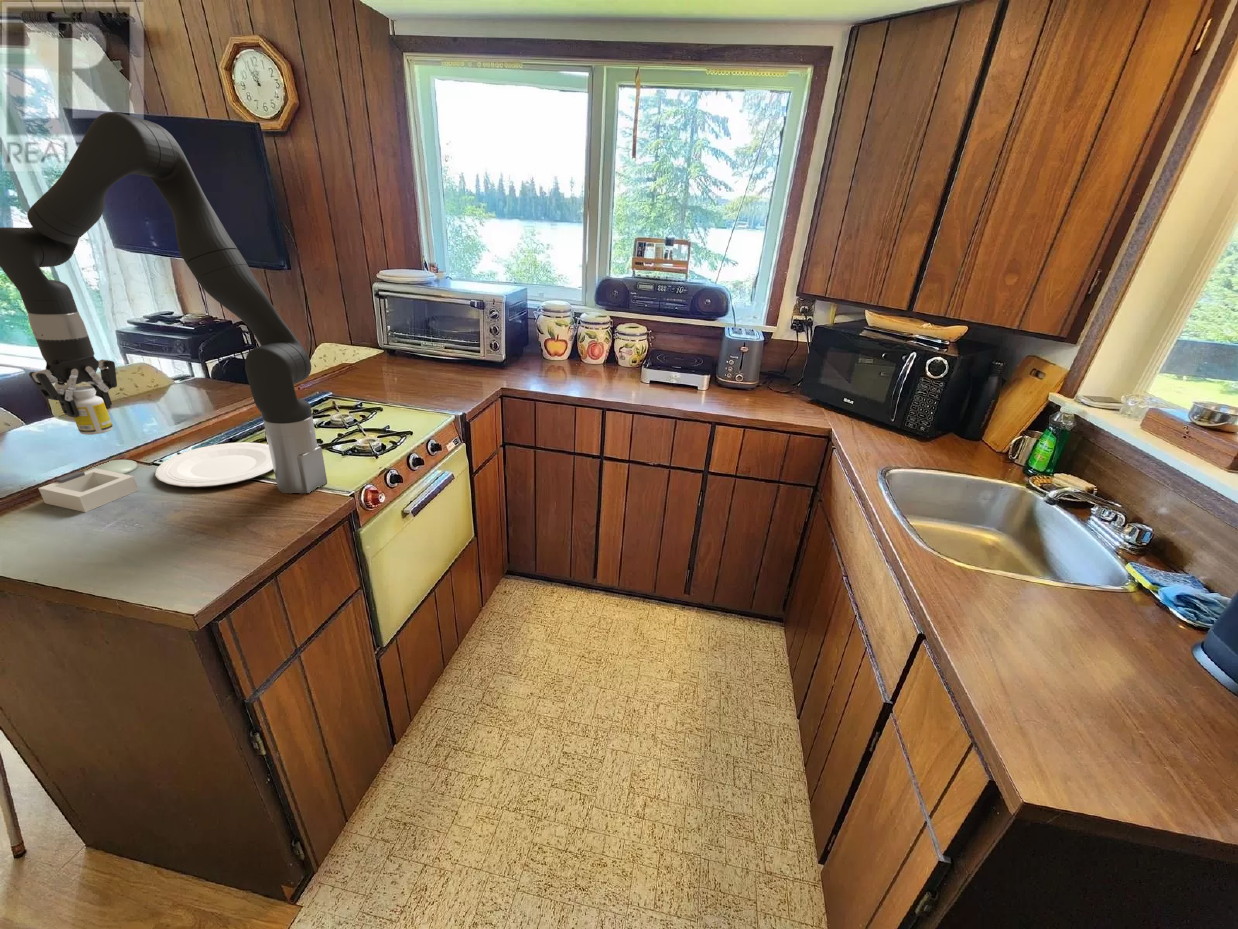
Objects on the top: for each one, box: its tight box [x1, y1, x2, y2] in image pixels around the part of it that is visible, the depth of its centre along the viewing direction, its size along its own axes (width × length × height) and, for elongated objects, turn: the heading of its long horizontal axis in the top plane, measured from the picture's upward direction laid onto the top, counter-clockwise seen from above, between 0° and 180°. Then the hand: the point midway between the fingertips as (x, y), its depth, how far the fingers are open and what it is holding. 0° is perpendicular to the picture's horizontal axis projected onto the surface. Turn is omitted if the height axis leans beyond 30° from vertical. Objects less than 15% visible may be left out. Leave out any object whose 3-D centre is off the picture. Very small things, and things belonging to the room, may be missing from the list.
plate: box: [154, 441, 274, 488], centre depth 121 cm, size 25×25×2 cm
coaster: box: [82, 459, 138, 475], centre depth 115 cm, size 9×9×1 cm
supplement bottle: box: [72, 385, 114, 436], centre depth 109 cm, size 5×5×10 cm
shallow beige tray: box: [38, 468, 139, 513], centre depth 104 cm, size 10×10×4 cm
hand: (90, 411), depth 109 cm, fingers closed on supplement bottle, 5 cm apart
